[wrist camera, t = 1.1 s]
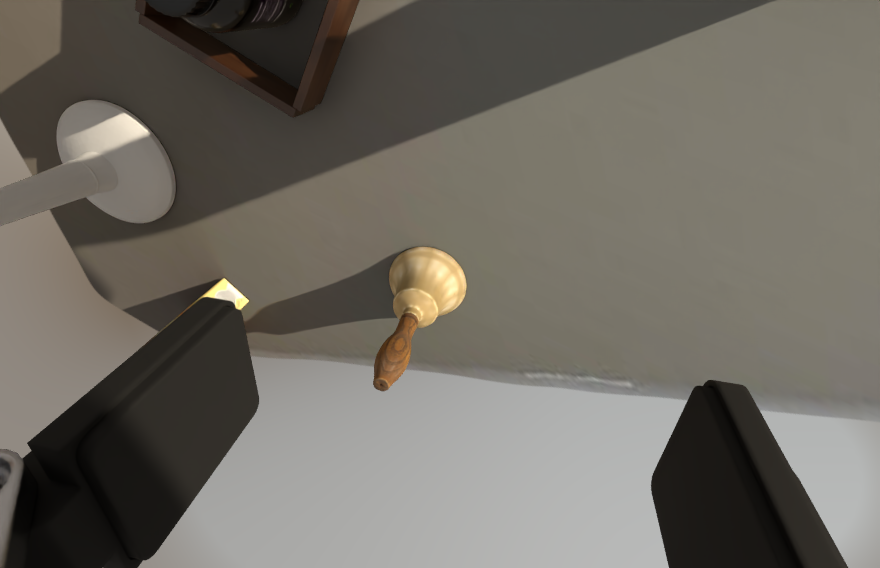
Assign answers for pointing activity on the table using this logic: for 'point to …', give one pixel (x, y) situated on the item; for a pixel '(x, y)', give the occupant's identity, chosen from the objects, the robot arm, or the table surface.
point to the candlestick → (99, 168)
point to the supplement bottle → (229, 13)
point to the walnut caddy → (250, 73)
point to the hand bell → (417, 304)
